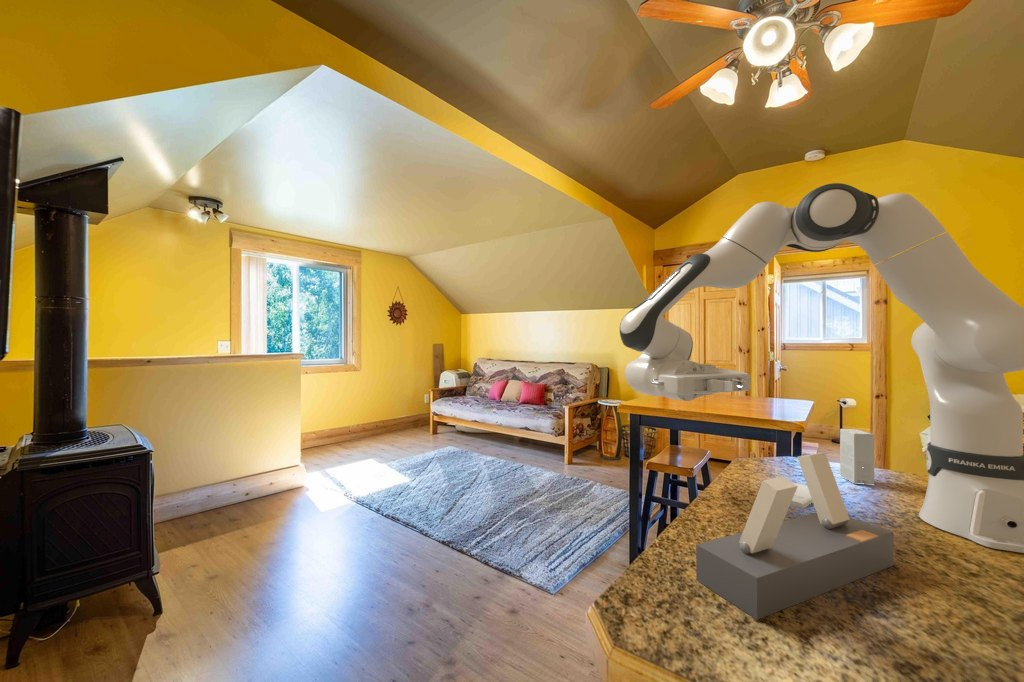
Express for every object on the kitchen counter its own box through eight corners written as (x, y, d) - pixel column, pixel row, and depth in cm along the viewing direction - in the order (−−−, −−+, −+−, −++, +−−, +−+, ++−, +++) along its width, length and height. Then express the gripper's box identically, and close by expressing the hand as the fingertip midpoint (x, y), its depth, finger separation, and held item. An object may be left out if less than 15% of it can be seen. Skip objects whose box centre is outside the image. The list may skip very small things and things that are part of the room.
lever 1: (736, 546, 56) (761, 480, 53) (758, 540, 58) (784, 476, 55) (749, 558, 54) (776, 490, 51) (771, 551, 56) (798, 485, 53)
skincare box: (875, 486, 95) (875, 434, 95) (854, 485, 96) (853, 433, 96) (859, 477, 101) (858, 429, 101) (839, 476, 102) (838, 428, 102)
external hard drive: (827, 498, 90) (803, 511, 83) (785, 487, 97) (759, 498, 89) (827, 490, 90) (803, 503, 83) (785, 480, 97) (759, 491, 89)
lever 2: (821, 528, 63) (796, 456, 66) (838, 523, 65) (813, 453, 68) (835, 529, 61) (808, 455, 65) (852, 524, 63) (825, 452, 66)
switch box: (696, 580, 58) (696, 543, 58) (826, 539, 70) (826, 508, 70) (757, 619, 49) (756, 576, 49) (893, 565, 61) (893, 530, 62)
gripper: (645, 367, 87) (699, 371, 74) (715, 364, 95) (774, 368, 82) (645, 397, 87) (699, 406, 74) (715, 392, 95) (774, 400, 82)
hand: (739, 386), depth 78 cm, fingers closed
